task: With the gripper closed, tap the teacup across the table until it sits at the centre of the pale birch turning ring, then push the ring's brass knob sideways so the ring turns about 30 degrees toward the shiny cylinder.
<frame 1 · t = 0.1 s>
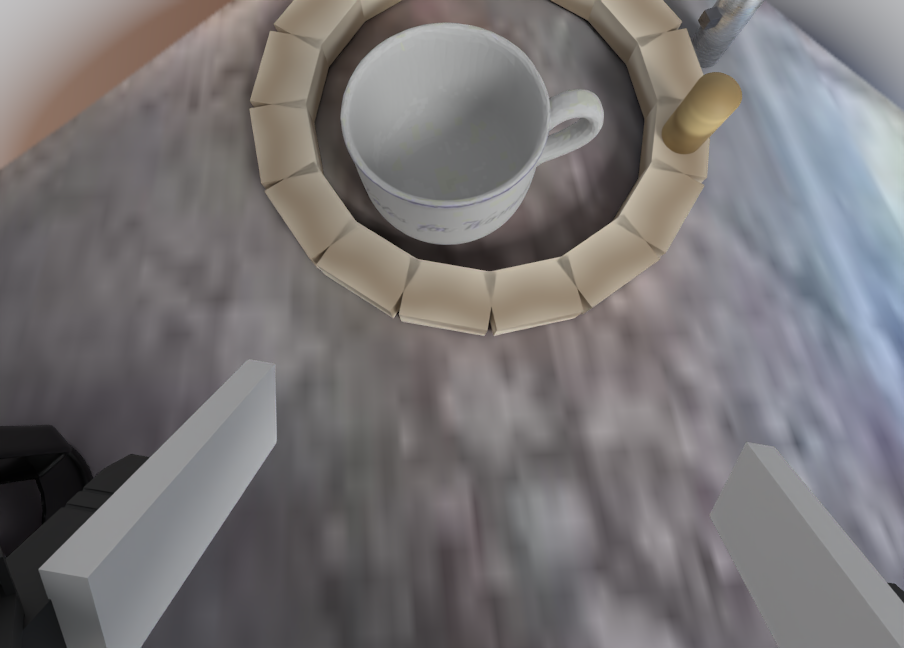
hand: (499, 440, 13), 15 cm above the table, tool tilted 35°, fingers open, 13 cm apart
french press: (24, 507, 27), on the table
shiny cylinder: (702, 52, 34), on the table
ring: (484, 91, 29), point 3 cm above the table, hinge at 0.0°
teacup: (469, 186, 32), resting in ring
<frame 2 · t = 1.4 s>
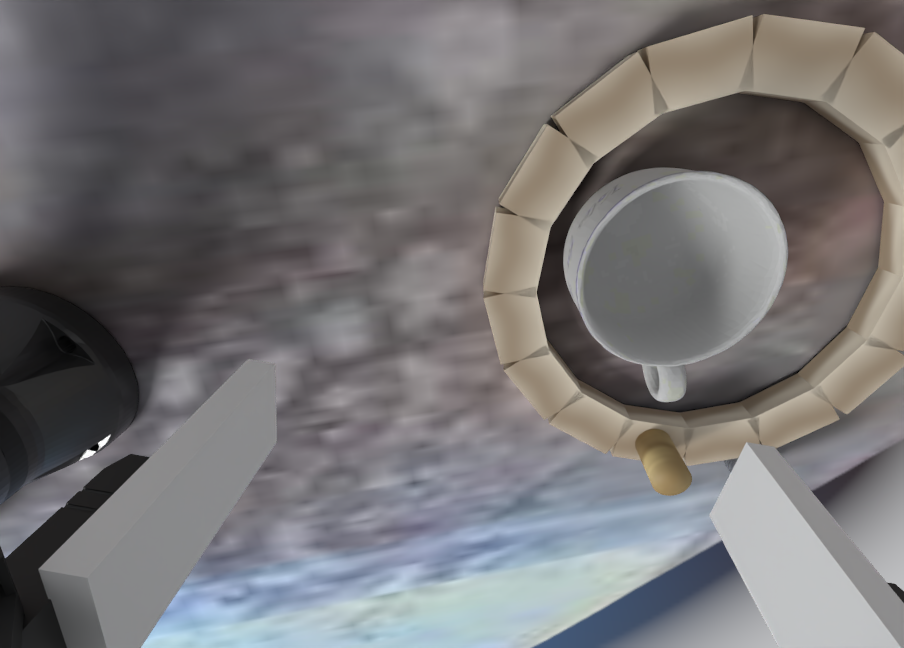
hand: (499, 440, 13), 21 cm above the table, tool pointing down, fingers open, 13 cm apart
ring: (720, 290, 29), point 3 cm above the table, hinge at 0.0°
teacup: (632, 263, 33), resting in ring
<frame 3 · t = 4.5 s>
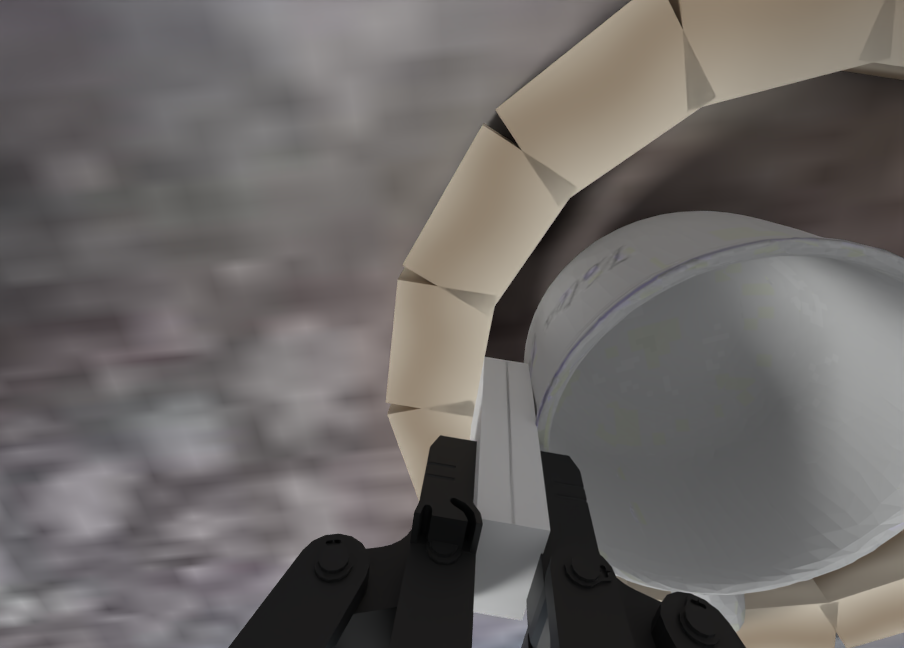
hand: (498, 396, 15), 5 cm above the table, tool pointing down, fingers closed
ring: (794, 425, 16), point 3 cm above the table, hinge at 0.0°
teacup: (645, 357, 20), resting in ring, touching gripper
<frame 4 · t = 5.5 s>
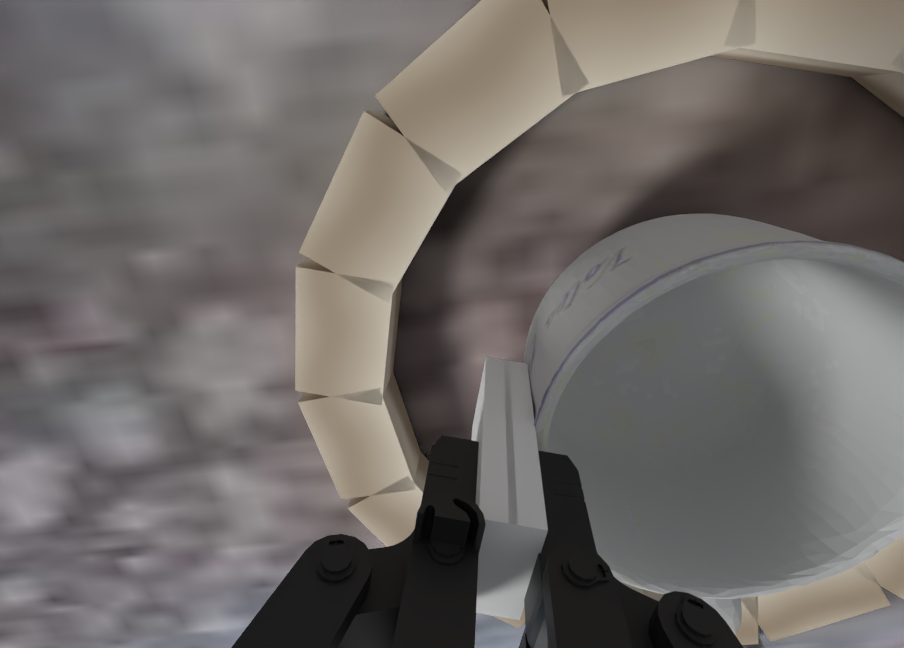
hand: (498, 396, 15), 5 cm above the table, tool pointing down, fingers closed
ring: (690, 413, 16), point 3 cm above the table, hinge at 0.0°
teacup: (645, 360, 20), resting in ring, touching gripper
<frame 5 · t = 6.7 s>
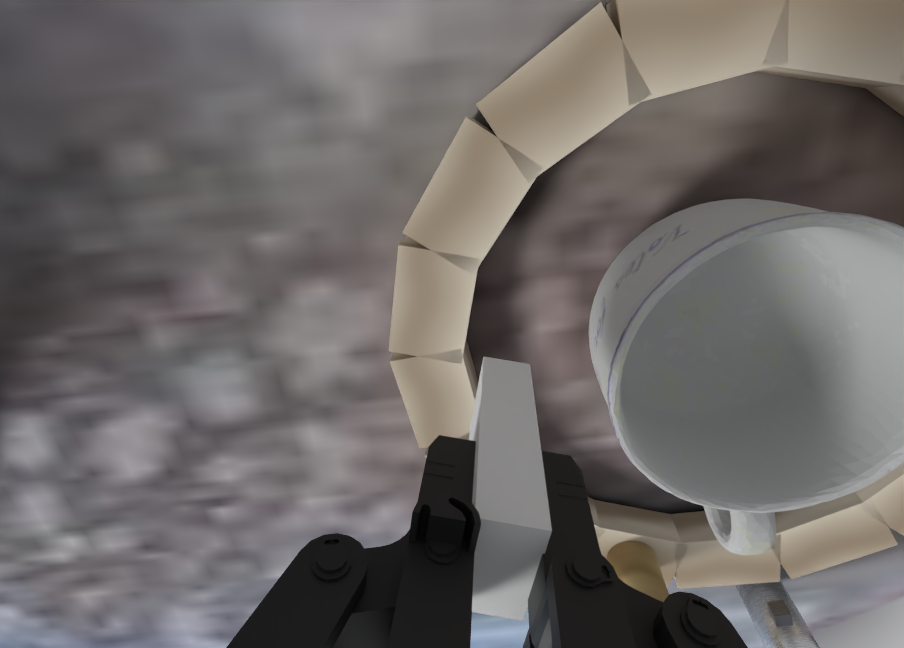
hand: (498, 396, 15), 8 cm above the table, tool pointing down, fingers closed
shiny cylinder: (753, 574, 29), on the table
ring: (727, 368, 20), point 3 cm above the table, hinge at 0.0°
teacup: (688, 329, 23), resting in ring
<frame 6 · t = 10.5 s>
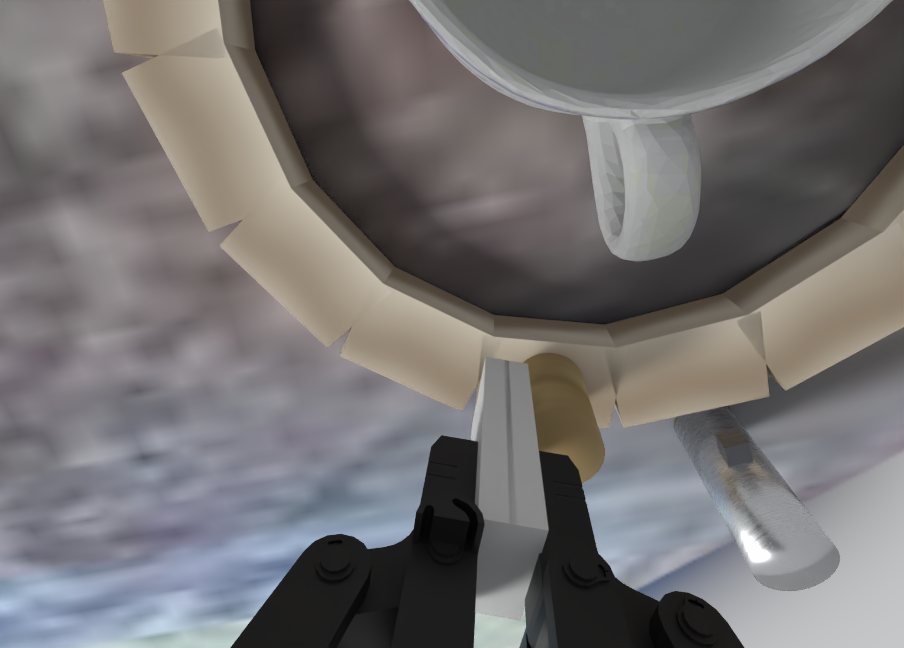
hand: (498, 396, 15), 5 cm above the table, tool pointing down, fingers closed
shiny cylinder: (703, 422, 20), on the table
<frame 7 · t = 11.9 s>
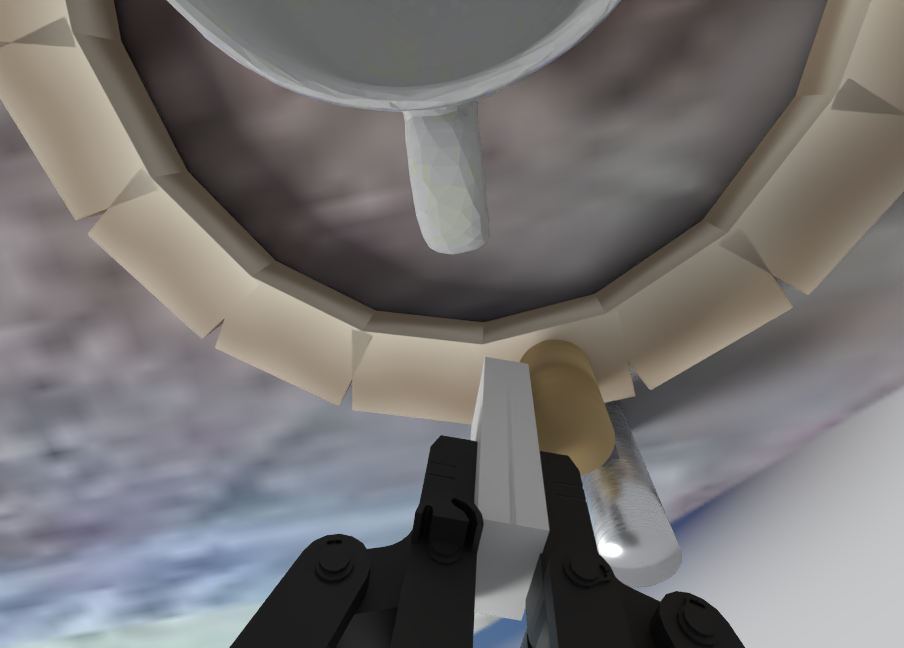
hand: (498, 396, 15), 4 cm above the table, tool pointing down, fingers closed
shiny cylinder: (596, 421, 21), on the table
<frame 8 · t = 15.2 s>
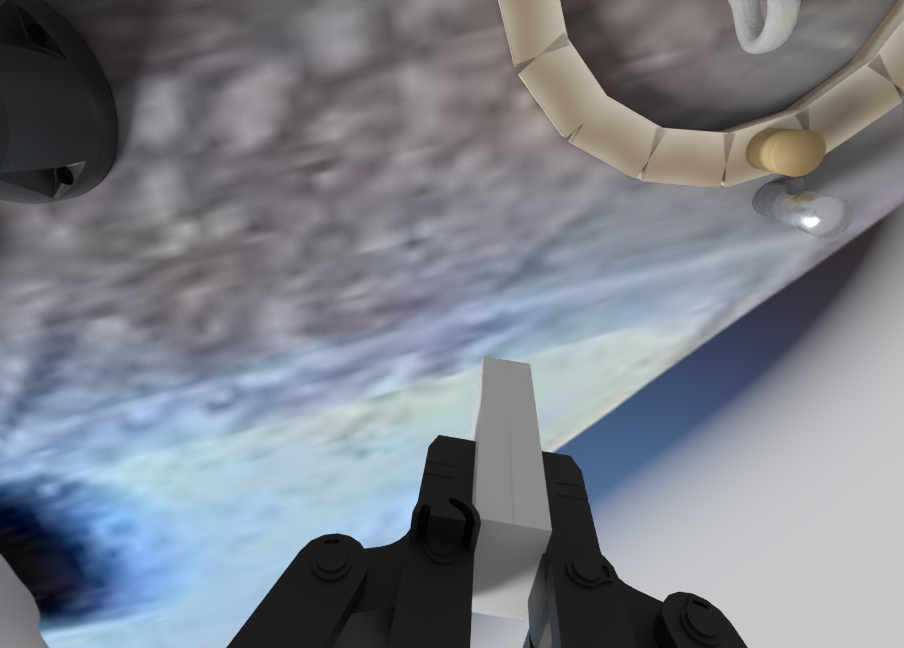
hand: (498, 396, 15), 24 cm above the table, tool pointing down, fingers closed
shiny cylinder: (770, 199, 35), on the table
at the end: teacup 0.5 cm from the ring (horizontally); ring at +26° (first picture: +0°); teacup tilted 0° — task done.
